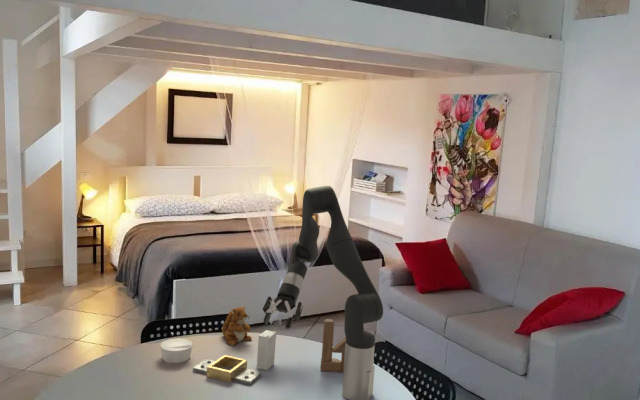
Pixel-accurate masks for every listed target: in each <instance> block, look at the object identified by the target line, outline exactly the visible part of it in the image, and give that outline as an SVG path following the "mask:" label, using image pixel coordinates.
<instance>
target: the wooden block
mask: <svg viewBox="0 0 640 400" xmlns="http://www.w3.org/2000/svg"><path fill="white" fill-rule="evenodd" d="M334 329H335V321H334V319H333V318H332V319H331V318H325V319H324V320H323V331H322V332H323V333H322V334H323V335H322V349H321V351H322V352H321V358H320V372H330V373H331V372H332V373H333V372H334V373H342V374H343V373H344V358H345V343H346V336H344V338H342V339H341V340H340V341H339V342H337V344H335V345H334V333H335V331H334ZM333 345H334V346H333ZM333 353H335V354H336V353H337V354H339V353H340V354H341V358H340V359H341V360H340V359H339V358H336V357H335V358H333Z"/></svg>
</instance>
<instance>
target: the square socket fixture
mask: <svg viewBox="0 0 640 400" xmlns="http://www.w3.org/2000/svg"><path fill="white" fill-rule="evenodd" d="M224 367H228V368H231V369H230V370H229V369H224ZM192 372H196V373H199V374H200V373H201V374H204V375H206V378H211V379H214V380H218V381H223V382H226V383H233V382H235V383H239V384H244V385H249V386H251V385H252V384H254V383H255V382H256V381H257V380H258V379H259V378H261V377H262V376H263V375H262V374H263V372H262V371H260V370H254V369H250V368H248V360H247V359H245V358H241V357H240V358H239V357H235V356H232V355H226V354H224V355H222V356H220V357H219V358H217V359H216V360H211V359H208V358H205V359H204V360H202V361H201V362H199V363H197V364H196V365H195V366H193V367H192Z"/></svg>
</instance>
